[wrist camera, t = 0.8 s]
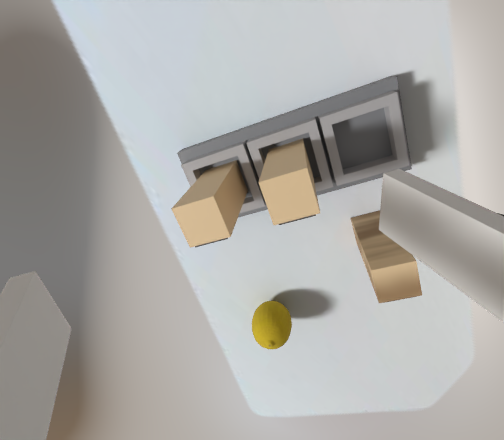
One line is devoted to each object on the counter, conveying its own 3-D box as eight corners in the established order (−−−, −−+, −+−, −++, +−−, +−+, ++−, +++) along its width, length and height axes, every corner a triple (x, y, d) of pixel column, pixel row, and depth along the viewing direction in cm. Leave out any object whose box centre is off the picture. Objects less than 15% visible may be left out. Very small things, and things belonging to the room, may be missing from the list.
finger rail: (182, 149, 40) (130, 185, 27) (391, 75, 34) (450, 78, 21) (212, 219, 43) (179, 279, 31) (406, 164, 37) (463, 211, 25)
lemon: (270, 283, 47) (266, 322, 39) (299, 304, 48) (300, 345, 40) (247, 305, 49) (240, 346, 42) (275, 324, 50) (272, 367, 43)
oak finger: (350, 217, 41) (371, 270, 30) (382, 209, 40) (416, 260, 29) (357, 245, 42) (379, 304, 32) (388, 238, 41) (422, 296, 31)
